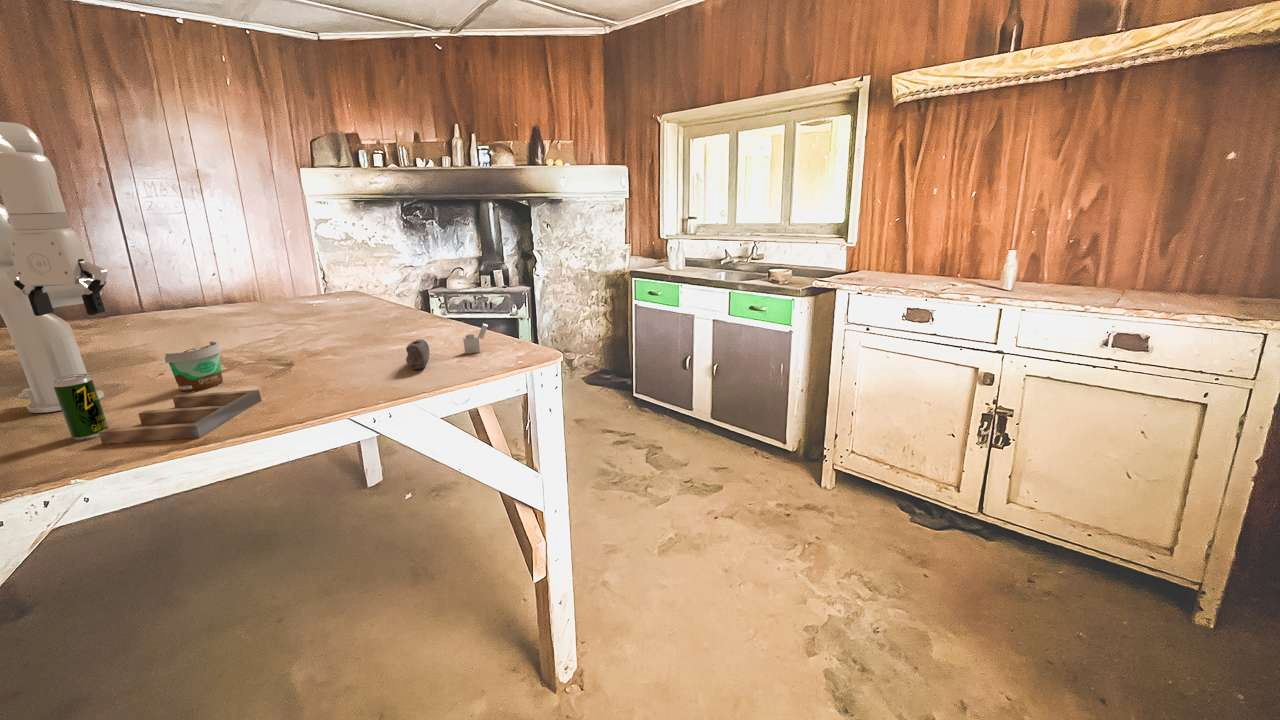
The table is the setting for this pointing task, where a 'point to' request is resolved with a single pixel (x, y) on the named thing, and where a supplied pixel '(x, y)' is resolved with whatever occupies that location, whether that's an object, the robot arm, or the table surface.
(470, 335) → the lighter
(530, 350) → the table surface
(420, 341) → the perforated stone tool
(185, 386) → the food container
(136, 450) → the table surface
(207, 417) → the lane rack
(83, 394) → the beer can
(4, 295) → the robot arm
